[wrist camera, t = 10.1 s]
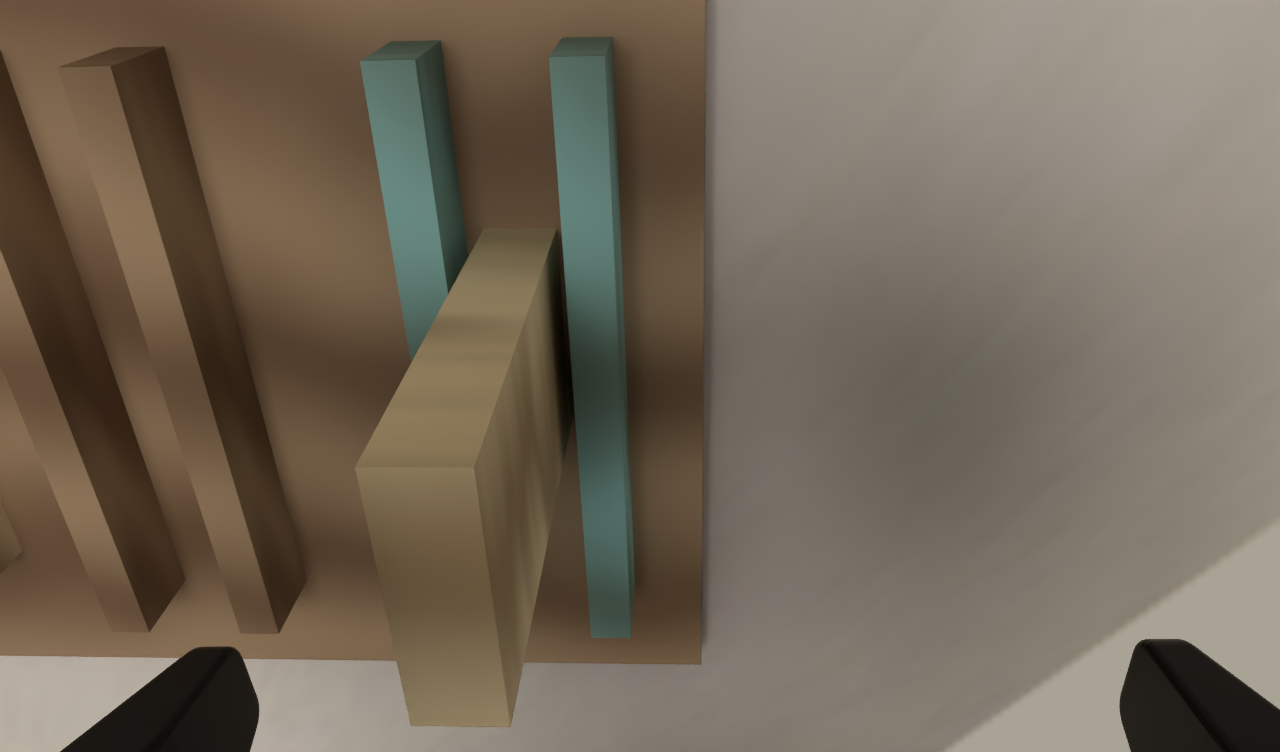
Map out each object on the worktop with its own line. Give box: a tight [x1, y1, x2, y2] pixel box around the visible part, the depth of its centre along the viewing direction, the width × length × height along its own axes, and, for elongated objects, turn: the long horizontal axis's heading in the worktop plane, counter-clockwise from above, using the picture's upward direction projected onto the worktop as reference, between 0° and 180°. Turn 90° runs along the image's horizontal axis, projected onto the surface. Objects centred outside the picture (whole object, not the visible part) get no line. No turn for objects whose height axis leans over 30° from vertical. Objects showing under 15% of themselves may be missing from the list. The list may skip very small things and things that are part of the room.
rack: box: [0, 0, 706, 665], centre depth 22 cm, size 20×24×3 cm
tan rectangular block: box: [355, 228, 572, 727], centre depth 17 cm, size 5×2×9 cm, turn 2°
